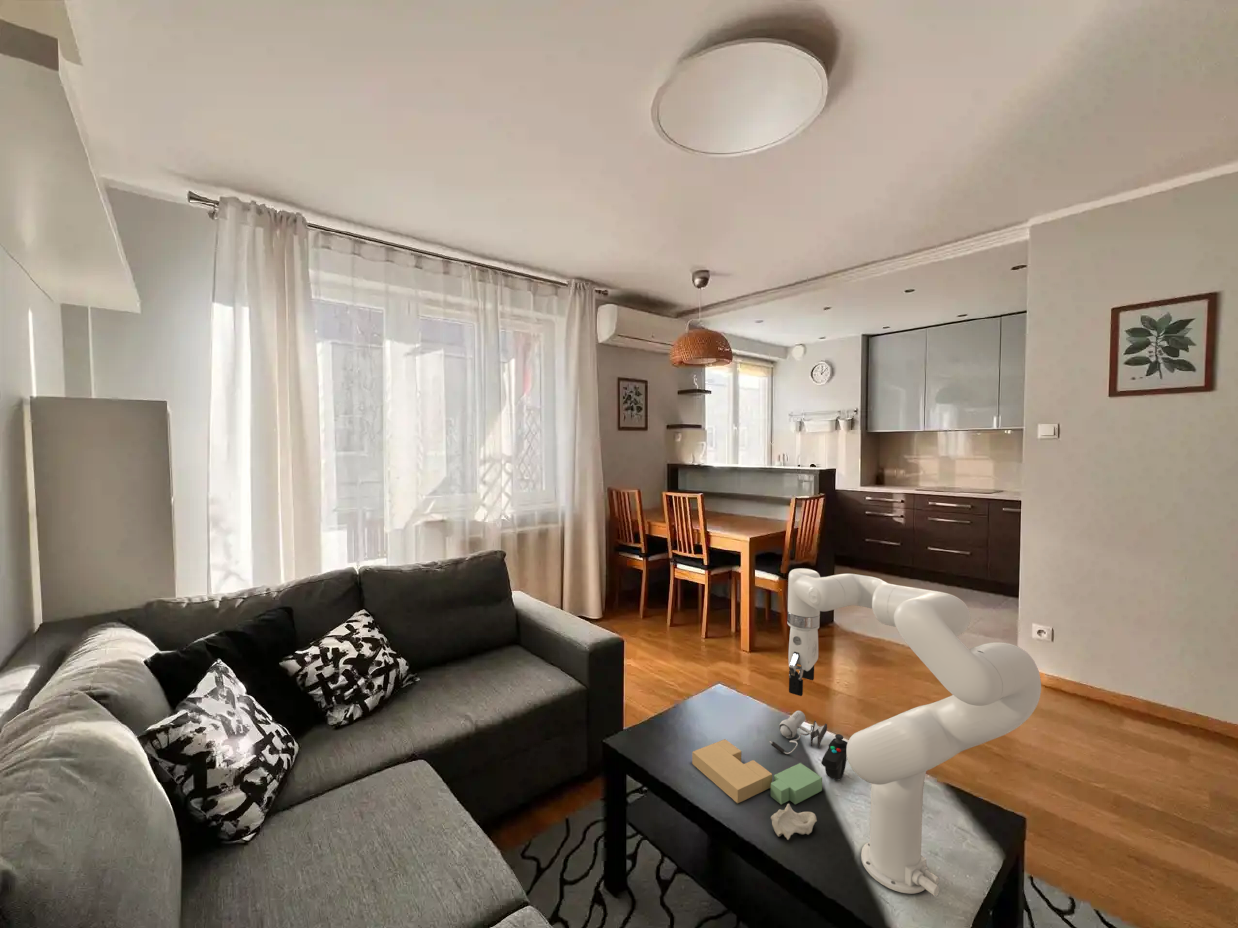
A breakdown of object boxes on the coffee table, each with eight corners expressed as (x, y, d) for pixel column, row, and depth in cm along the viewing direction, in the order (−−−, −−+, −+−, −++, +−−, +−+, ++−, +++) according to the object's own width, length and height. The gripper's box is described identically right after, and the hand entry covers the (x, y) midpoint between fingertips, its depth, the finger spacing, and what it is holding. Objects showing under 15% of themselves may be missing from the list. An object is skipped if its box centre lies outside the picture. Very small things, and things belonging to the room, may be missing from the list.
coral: (820, 831, 118) (821, 812, 118) (785, 846, 114) (786, 827, 114) (802, 814, 124) (802, 797, 123) (768, 828, 119) (768, 810, 119)
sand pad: (772, 786, 134) (772, 773, 133) (737, 803, 127) (737, 789, 127) (724, 750, 149) (725, 738, 149) (692, 763, 143) (692, 751, 143)
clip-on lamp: (799, 772, 143) (830, 735, 155) (799, 754, 142) (830, 718, 153) (762, 750, 152) (795, 716, 163) (762, 732, 150) (794, 699, 162)
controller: (849, 769, 140) (850, 734, 140) (836, 794, 131) (837, 756, 130) (833, 763, 143) (834, 728, 143) (819, 787, 133) (819, 749, 133)
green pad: (822, 790, 132) (822, 777, 132) (786, 809, 126) (786, 795, 125) (800, 775, 138) (800, 762, 138) (765, 791, 132) (765, 778, 131)
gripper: (808, 633, 119) (807, 705, 120) (828, 612, 133) (826, 677, 134) (776, 626, 123) (775, 695, 124) (798, 606, 137) (797, 669, 138)
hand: (801, 686), depth 129 cm, fingers open, 9 cm apart
